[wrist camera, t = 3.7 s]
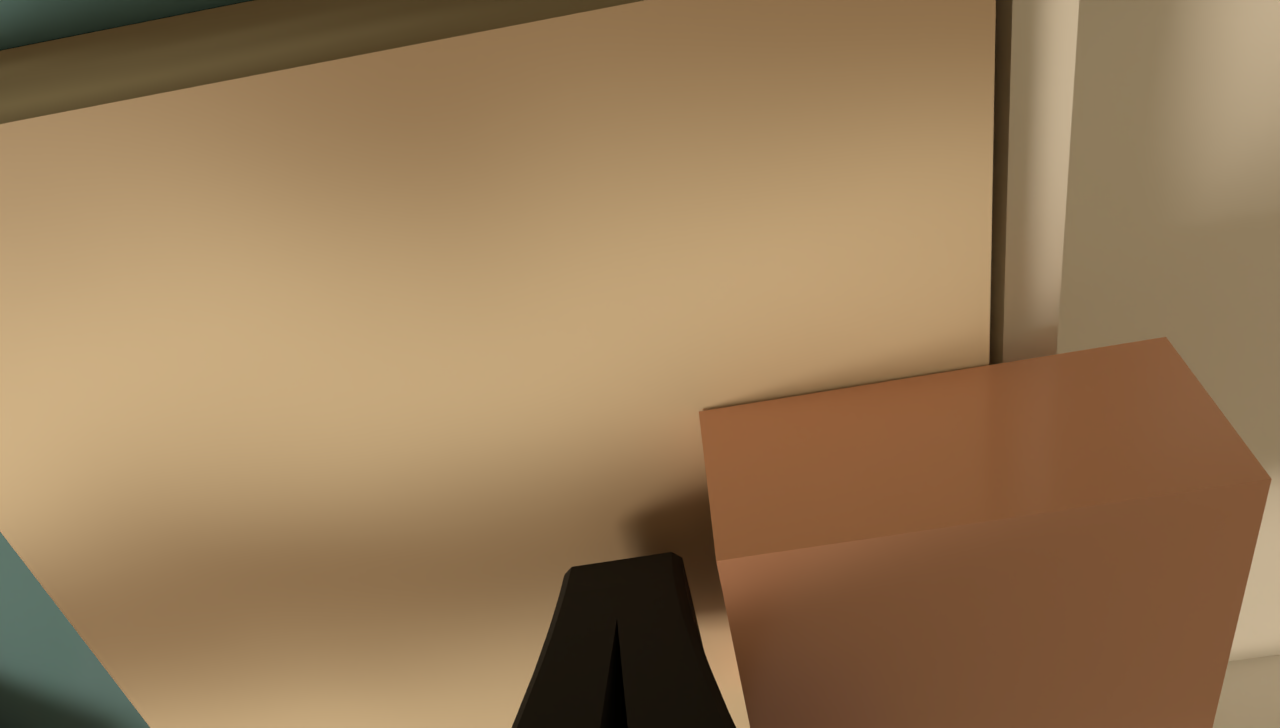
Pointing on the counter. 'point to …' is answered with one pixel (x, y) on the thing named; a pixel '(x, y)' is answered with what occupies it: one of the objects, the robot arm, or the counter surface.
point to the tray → (1152, 226)
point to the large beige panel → (448, 316)
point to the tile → (987, 546)
